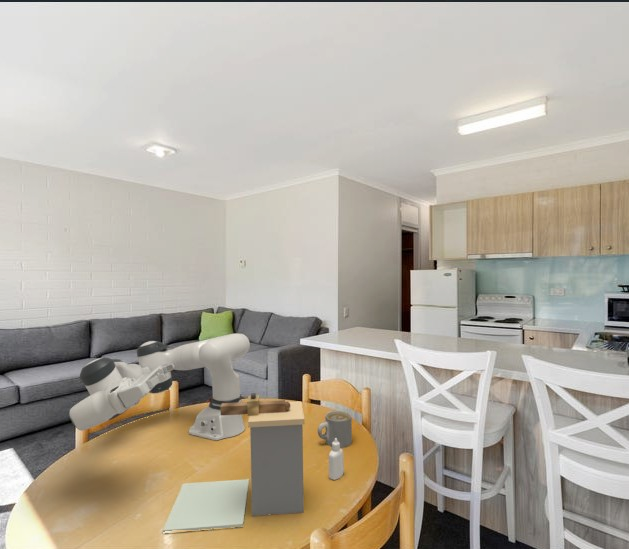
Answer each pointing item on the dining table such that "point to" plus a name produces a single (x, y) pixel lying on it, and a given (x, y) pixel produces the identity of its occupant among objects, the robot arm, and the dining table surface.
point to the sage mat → (209, 505)
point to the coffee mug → (337, 428)
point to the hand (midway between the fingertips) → (169, 370)
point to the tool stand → (277, 461)
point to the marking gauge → (254, 406)
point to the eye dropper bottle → (336, 461)
